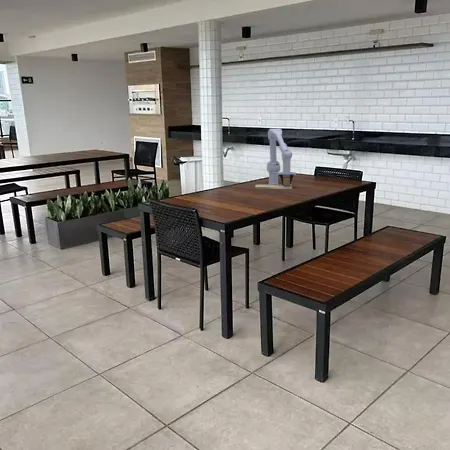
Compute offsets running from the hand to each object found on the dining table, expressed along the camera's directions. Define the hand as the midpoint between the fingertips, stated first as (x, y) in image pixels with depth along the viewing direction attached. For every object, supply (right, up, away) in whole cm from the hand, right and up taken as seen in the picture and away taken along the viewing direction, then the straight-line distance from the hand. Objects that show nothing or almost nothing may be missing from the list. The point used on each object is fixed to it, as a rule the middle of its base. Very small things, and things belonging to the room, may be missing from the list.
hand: (286, 184), depth 366 cm
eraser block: (0, 0, 0) cm, 0 cm away
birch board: (-10, -2, +2) cm, 10 cm away
